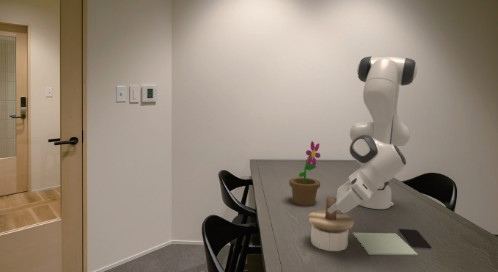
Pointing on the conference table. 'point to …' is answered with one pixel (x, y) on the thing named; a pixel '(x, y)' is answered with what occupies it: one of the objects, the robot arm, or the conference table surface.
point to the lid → (330, 218)
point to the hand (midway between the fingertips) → (329, 208)
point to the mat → (384, 244)
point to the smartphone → (414, 239)
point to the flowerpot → (306, 181)
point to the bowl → (329, 239)
